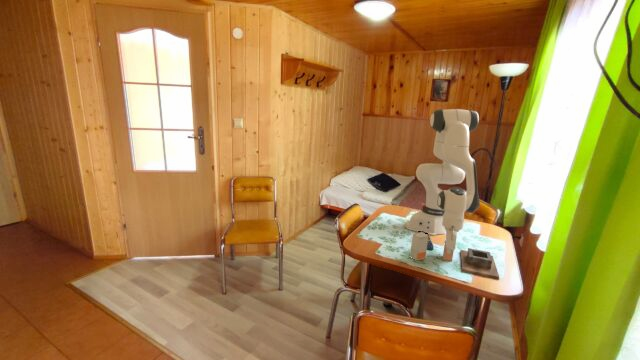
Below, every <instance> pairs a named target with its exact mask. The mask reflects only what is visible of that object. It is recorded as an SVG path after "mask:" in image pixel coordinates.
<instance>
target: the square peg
mask: <svg viewBox="0 0 640 360" xmlns="http://www.w3.org/2000/svg"><path fill="white" fill-rule="evenodd" d="M443 245H444V246H443V251H442V253H443V254H442V260H445V261H449V262H452V261H453V257H454V251H455V250H451V254H449V253H447V249H446V239H445V240H444V244H443Z"/></svg>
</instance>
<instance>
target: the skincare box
mask: <svg viewBox="0 0 640 360" xmlns="http://www.w3.org/2000/svg"><path fill="white" fill-rule="evenodd" d="M429 237H430V235H429V234H425V233H423V232H416V233H412V239H411V247H410V251H409V252H410V253H409V257H410V256H411V257H412V258H413V260H414V259H415V260H417V261H421V260H425V259H426V257H427V250H428V242H429ZM411 257H410V258H411ZM412 258H411V259H412ZM420 259H421V260H420ZM415 260H414V261H415Z"/></svg>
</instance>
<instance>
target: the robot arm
mask: <svg viewBox="0 0 640 360" xmlns="http://www.w3.org/2000/svg"><path fill="white" fill-rule="evenodd" d="M479 120H480V117H479V113H478V112H477V111H476V110H472V109H468V110H467V109H461V108H455V109H452V108H451V109H449V108H448V109H436V110H434V111H433V112H432V113H431V116H430V120H429V123H430V127H431V129H432V130H434V131H436V133H435V138H434V145H433V151H432V153H433V156H434V157H436V158H437V159H439V160H441V161H442V163H433V162H432V163H431V162H430V163H420V164H419V165H418V166H417V168H416V171H415V176H416V178H417V180H418V181H419V182H421V184H422V185H423V187H424V189H425V192H426V193H425V194H426V196H425V198H426V199H425V203H421V205H420V207H421V209H420V210H419V211H417V212H414V213H413V214H412V215H411V217H410V220H407V221H406V222H405V228H406V229H407V230H409V231H413V232H416V233H419V232H418V231H425V232H427V233H428V234H427V235H428V236H436V235H442V234H445V240H446V249H447V253H449V254H451V250H454V251H455V250H456V246H457V245H456V244H457V233H459V232H460V230H463V229H464V223H465V213H467V214H473V213H474V212H476V211H477V210H478V209H479V208H480V203H481V202H480V196H479V188H478V172H477V164H476V161H475V159H474V158H473V157H472V156H471V154H470V150H469V149H470V132H474V131H475V130H476V129H477V128H478V125H479ZM465 180H466V181H465ZM463 181H465V182H466V183H465V184H466V190H465V188H464V189H463V188H461V187H457V186H454V187H449V188H448V189H445V190H443V189H441V188H440V187H439V185H440V184H441V185H457V184H459V185H460V184H461V183H462V182H463Z"/></svg>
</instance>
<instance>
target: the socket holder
mask: <svg viewBox="0 0 640 360" xmlns="http://www.w3.org/2000/svg"><path fill="white" fill-rule="evenodd" d="M459 253H460V262H461V263H460V264H461V272H462V271H463V272H464V273H467V272H468V273H467V274H471V273H472V275H476V276H481V277H486V278H491V279H496V280H500V274H499V271H498V268H497V265H496V263H495V259H494V256H493V255H491V252H490V251H487V250H481V249H480V250H479V249H475V248H471V247H469V248H467V250H463V249H460V252H459Z"/></svg>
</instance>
